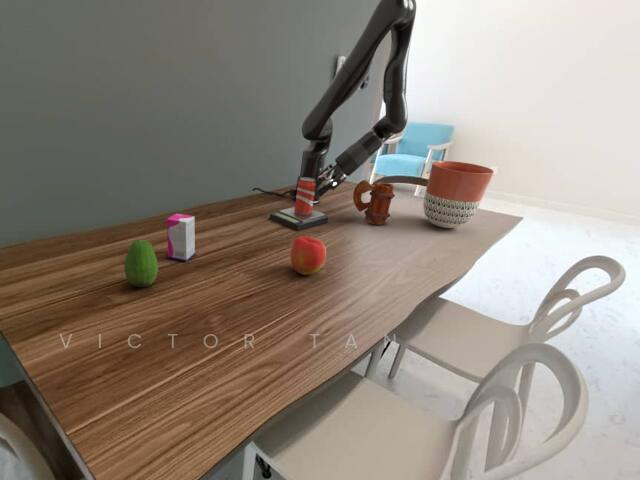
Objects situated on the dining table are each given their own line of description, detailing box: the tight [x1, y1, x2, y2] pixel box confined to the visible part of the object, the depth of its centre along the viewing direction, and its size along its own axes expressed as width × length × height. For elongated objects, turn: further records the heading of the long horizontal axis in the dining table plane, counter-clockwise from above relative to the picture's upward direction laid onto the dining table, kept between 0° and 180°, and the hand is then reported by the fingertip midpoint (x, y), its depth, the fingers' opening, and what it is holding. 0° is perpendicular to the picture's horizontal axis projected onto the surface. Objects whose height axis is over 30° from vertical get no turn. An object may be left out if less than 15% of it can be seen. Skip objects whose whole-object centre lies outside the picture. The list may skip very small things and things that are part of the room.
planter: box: [422, 160, 495, 229], centre depth 142 cm, size 20×20×21 cm
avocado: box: [123, 238, 159, 288], centre depth 93 cm, size 8×8×12 cm
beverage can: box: [294, 177, 316, 215], centre depth 139 cm, size 6×6×12 cm
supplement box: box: [166, 213, 196, 263], centre depth 108 cm, size 6×6×12 cm
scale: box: [269, 211, 329, 232], centre depth 143 cm, size 14×16×2 cm
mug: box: [352, 179, 396, 226], centre depth 142 cm, size 15×8×15 cm, turn 84°
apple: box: [290, 235, 327, 276], centre depth 104 cm, size 10×10×10 cm
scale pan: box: [278, 206, 326, 222], centre depth 143 cm, size 12×12×1 cm
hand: (314, 191), depth 139 cm, fingers open, 8 cm apart
